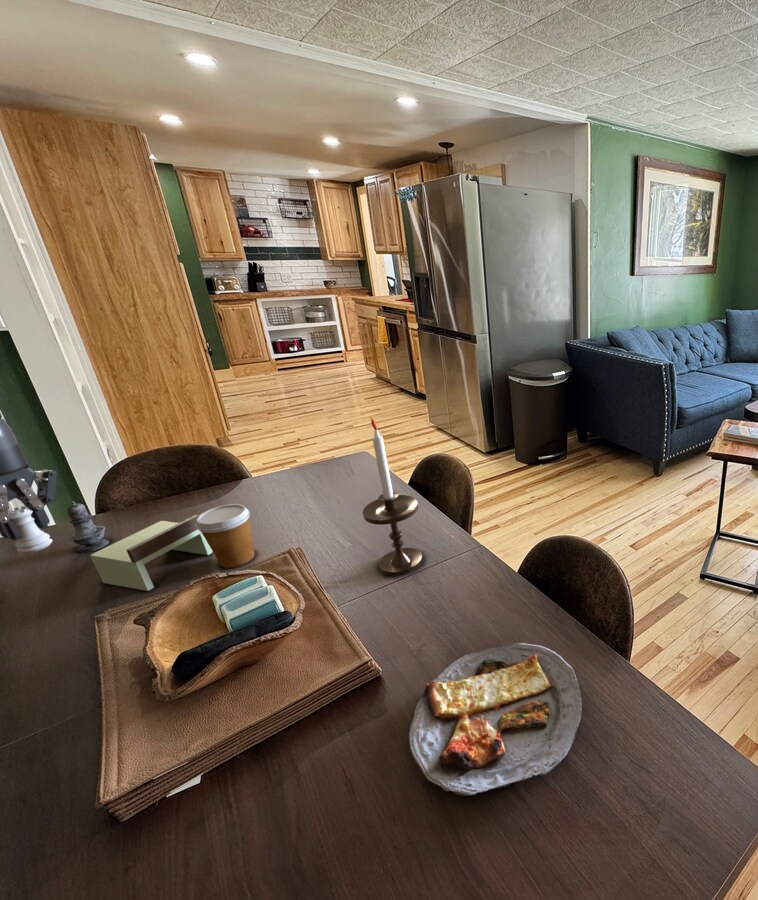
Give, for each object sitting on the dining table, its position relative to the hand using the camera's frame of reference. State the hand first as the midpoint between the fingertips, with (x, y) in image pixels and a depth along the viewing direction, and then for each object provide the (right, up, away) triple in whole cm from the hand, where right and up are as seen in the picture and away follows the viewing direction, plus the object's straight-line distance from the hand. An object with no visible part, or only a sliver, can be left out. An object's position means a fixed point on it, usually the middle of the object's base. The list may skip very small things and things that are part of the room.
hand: (28, 532), depth 87 cm
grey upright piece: (-15, -8, +25) cm, 30 cm away
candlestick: (+61, -10, +19) cm, 65 cm away
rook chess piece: (0, -3, +1) cm, 3 cm away
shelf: (+8, -11, +18) cm, 22 cm away
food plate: (+90, -25, -16) cm, 95 cm away
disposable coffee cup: (+23, -10, +20) cm, 32 cm away
